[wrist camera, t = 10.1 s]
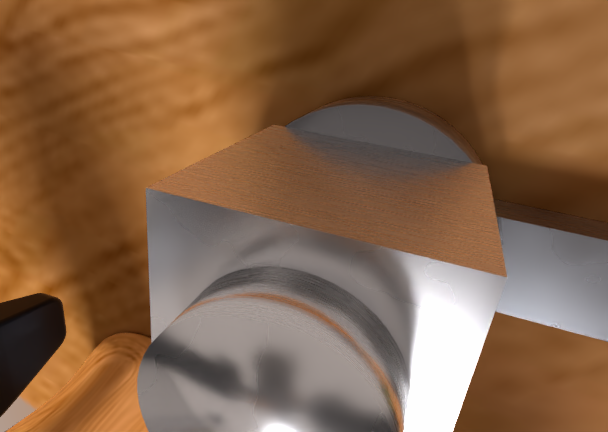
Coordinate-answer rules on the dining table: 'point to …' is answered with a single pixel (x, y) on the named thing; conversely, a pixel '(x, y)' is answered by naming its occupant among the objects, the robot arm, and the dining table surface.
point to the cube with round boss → (317, 288)
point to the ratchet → (510, 217)
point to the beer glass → (97, 392)
